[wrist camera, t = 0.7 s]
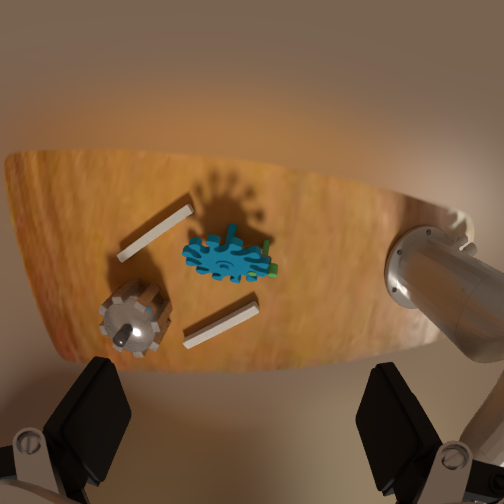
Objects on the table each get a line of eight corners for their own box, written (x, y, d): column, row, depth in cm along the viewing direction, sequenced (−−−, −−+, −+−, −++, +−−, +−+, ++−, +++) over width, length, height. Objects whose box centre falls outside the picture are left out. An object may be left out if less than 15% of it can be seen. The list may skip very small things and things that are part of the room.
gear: (177, 273, 35) (185, 236, 26) (188, 234, 37) (200, 189, 29) (259, 295, 37) (292, 266, 28) (264, 255, 40) (296, 219, 31)
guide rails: (189, 203, 34) (186, 204, 32) (259, 307, 38) (259, 312, 36) (121, 252, 35) (116, 255, 34) (189, 343, 39) (187, 349, 38)
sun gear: (146, 268, 36) (118, 295, 27) (184, 318, 38) (167, 356, 30) (105, 296, 37) (75, 326, 29) (141, 341, 40) (120, 378, 31)
